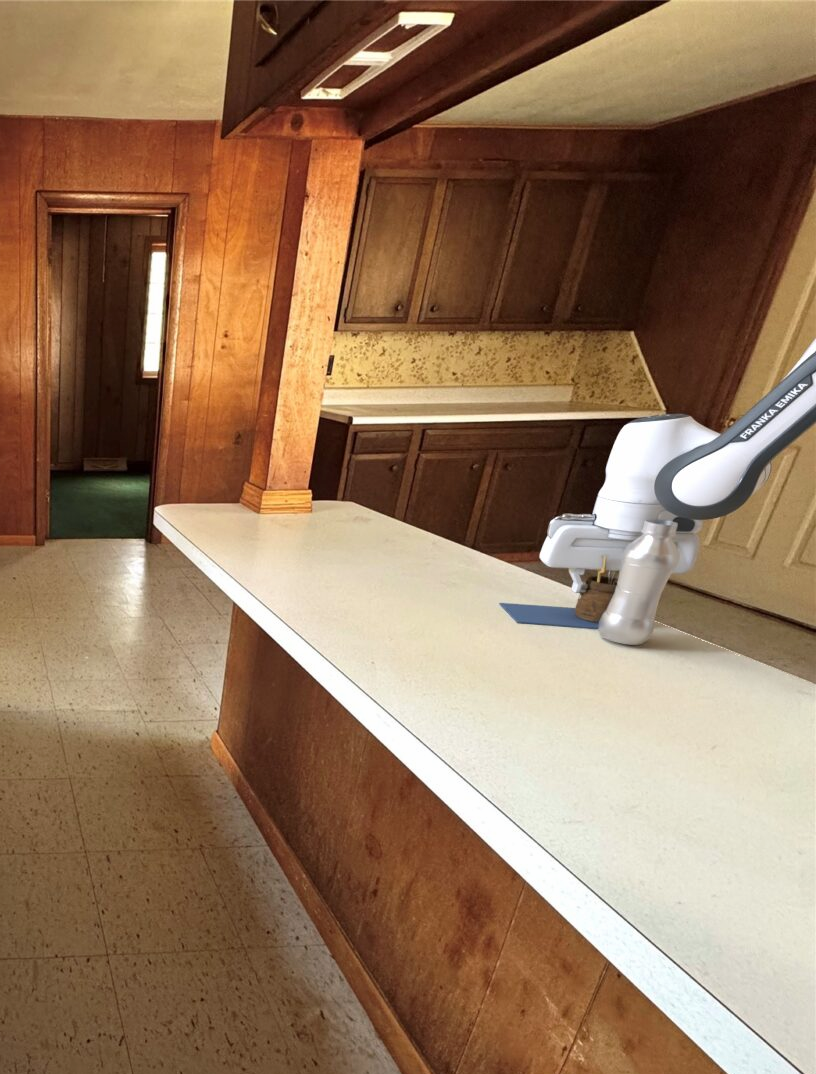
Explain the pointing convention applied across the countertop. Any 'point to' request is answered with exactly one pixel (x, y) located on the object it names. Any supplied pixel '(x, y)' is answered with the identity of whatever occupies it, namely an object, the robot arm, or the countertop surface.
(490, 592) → the countertop surface
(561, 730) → the countertop surface
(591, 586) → the utensil holder
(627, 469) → the robot arm
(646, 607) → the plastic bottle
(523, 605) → the mat
